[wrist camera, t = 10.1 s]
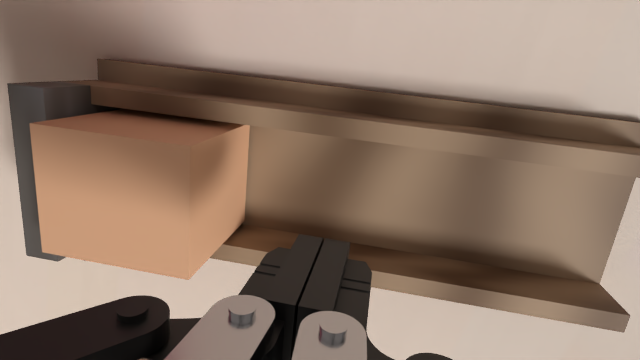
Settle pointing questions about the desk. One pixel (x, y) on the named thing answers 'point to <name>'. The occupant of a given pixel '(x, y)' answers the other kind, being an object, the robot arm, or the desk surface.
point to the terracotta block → (139, 188)
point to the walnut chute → (393, 182)
